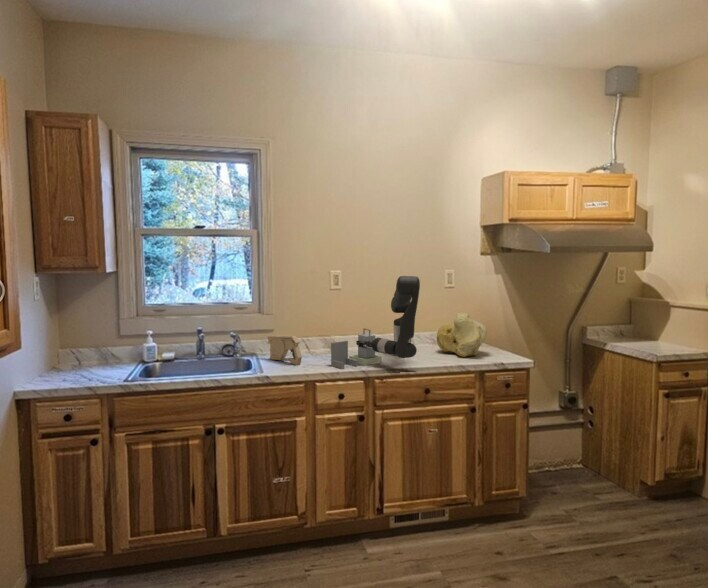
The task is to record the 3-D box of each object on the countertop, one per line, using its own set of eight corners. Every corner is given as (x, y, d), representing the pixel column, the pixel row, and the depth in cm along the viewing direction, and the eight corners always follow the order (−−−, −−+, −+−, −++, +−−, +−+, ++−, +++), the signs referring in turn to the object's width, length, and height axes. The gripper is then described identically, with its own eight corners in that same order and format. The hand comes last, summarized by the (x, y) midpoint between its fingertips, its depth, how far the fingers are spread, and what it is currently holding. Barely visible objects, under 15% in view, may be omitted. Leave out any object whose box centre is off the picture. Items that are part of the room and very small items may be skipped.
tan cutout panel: (302, 364, 262) (300, 335, 262) (298, 365, 260) (295, 336, 260) (273, 362, 279) (271, 335, 279) (269, 363, 277) (267, 336, 276)
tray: (366, 358, 278) (366, 352, 277) (381, 362, 267) (381, 356, 267) (348, 361, 270) (348, 355, 270) (364, 365, 260) (364, 359, 260)
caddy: (366, 358, 272) (367, 327, 270) (375, 361, 267) (375, 329, 265) (357, 360, 269) (358, 328, 267) (366, 363, 263) (366, 330, 261)
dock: (346, 363, 265) (346, 340, 264) (358, 366, 258) (357, 343, 257) (331, 365, 259) (330, 342, 258) (342, 369, 251) (342, 345, 250)
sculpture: (459, 329, 264) (434, 305, 290) (452, 371, 275) (429, 344, 301) (500, 324, 272) (472, 301, 298) (492, 365, 282) (465, 340, 308)
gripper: (393, 337, 261) (372, 333, 274) (372, 340, 252) (352, 336, 265) (393, 351, 262) (372, 347, 274) (372, 354, 253) (352, 350, 265)
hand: (362, 341), depth 269 cm, fingers open, 7 cm apart
